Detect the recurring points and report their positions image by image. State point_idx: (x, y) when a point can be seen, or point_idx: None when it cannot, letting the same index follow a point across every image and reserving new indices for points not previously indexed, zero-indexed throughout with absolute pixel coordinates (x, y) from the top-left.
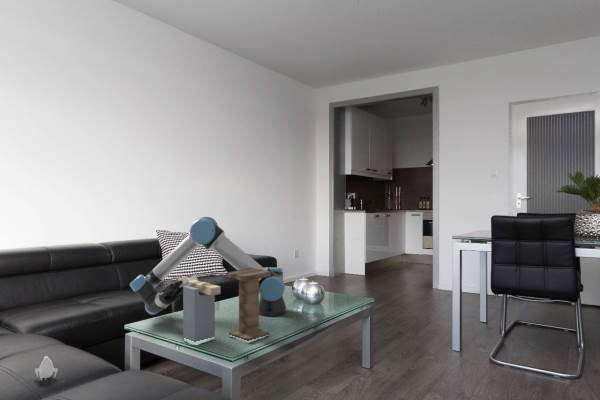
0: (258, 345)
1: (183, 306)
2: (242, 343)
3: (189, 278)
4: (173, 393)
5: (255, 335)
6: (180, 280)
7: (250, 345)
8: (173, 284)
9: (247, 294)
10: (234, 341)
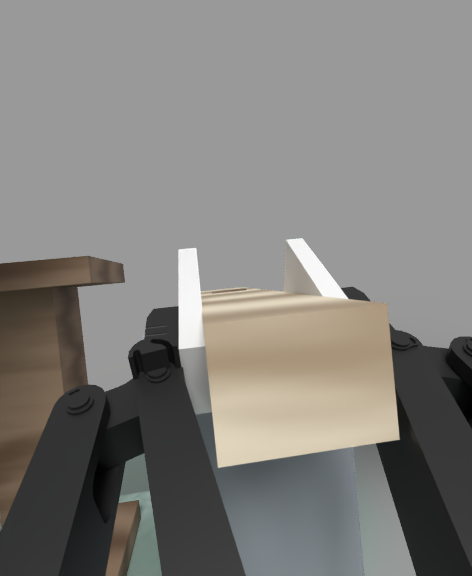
0: (129, 497)
1: (353, 470)
2: (146, 530)
3: (203, 309)
4: None
5: None
6: (339, 295)
7: (144, 506)
8: (441, 350)
9: (83, 354)
10: (147, 560)
